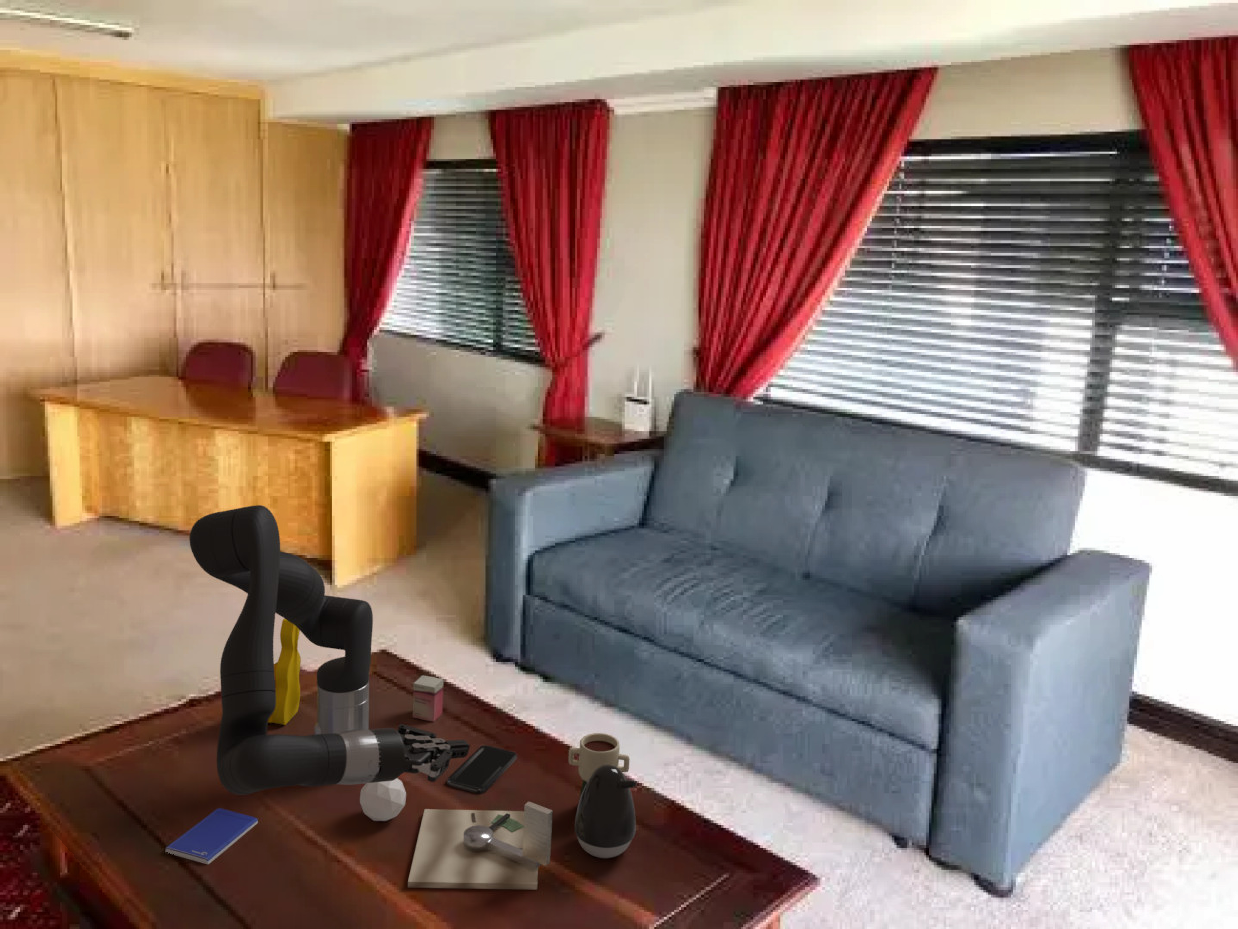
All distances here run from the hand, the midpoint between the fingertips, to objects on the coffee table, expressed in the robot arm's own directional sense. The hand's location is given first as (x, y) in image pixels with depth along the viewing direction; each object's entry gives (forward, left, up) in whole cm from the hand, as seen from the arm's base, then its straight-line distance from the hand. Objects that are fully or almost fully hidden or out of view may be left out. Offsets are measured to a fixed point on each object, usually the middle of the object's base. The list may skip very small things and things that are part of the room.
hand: (466, 748), depth 159 cm
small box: (-12, +51, -21) cm, 57 cm away
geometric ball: (-15, +14, -21) cm, 30 cm away
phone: (+1, +30, -22) cm, 37 cm away
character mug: (+22, +18, -21) cm, 36 cm away
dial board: (+2, +5, -21) cm, 22 cm away
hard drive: (-42, +7, -22) cm, 47 cm away
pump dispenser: (+23, +6, -21) cm, 32 cm away
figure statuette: (-41, +48, -21) cm, 67 cm away
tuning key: (+8, +4, -20) cm, 22 cm away
